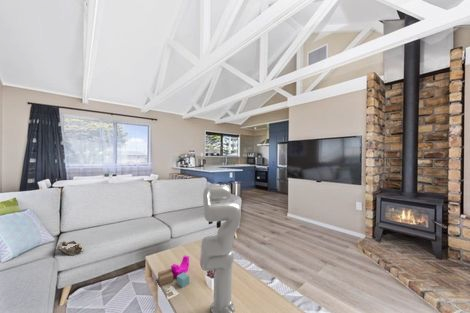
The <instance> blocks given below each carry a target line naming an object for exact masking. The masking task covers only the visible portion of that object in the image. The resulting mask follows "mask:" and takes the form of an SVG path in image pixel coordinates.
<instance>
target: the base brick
mask: <svg viewBox="0 0 470 313" xmlns="http://www.w3.org/2000/svg"><path fill="white" fill-rule="evenodd" d="M157 275H158V276H157V281H158V284H159V287H162V286H165V285H168V284H172V283H174V277H173V273H172V271H171V268H169V269H165V270H161V271H158V272H157Z"/></svg>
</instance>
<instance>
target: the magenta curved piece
mask: <svg viewBox="0 0 470 313" xmlns="http://www.w3.org/2000/svg"><path fill="white" fill-rule="evenodd" d="M189 267H190V256H189V255H184V256H182V260H181V262H180V264H179V265H178V264H175V263H173V264H172V265H171V266H170V269H171V271H172V273H173V279H174V278H175V279H177V276H178V275H180V274H181V273H183V272H184V273H185V274H187V273H188V271H189Z"/></svg>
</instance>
